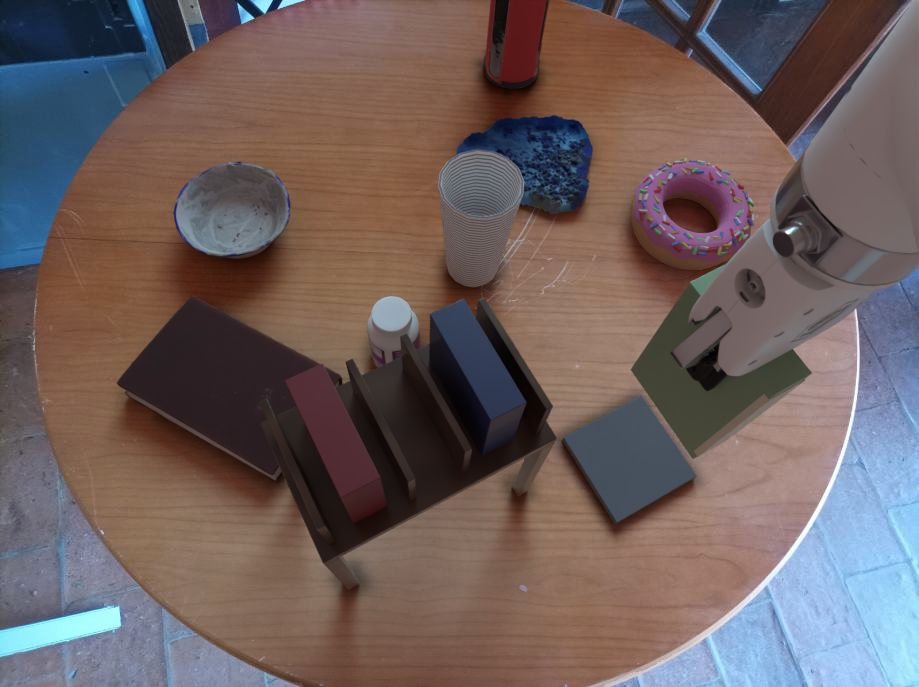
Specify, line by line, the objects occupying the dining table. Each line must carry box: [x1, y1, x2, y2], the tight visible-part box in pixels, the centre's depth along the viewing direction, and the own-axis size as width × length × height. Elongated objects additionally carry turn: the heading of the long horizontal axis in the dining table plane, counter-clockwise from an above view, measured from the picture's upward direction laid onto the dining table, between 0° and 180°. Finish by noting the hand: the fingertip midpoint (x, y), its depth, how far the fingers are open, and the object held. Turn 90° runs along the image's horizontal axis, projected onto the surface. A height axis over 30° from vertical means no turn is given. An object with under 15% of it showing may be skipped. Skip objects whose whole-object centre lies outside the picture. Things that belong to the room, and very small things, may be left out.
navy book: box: [428, 298, 526, 456], centre depth 52 cm, size 9×3×8 cm, turn 28°
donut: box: [630, 157, 755, 271], centre depth 84 cm, size 14×14×5 cm
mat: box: [561, 395, 698, 525], centre depth 73 cm, size 10×10×1 cm
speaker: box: [482, 0, 550, 90], centre depth 88 cm, size 8×8×18 cm
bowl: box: [172, 161, 291, 260], centre depth 81 cm, size 13×13×5 cm
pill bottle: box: [366, 295, 421, 368], centre depth 73 cm, size 5×5×10 cm
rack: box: [259, 297, 558, 591], centre depth 60 cm, size 12×20×24 cm, turn 119°
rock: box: [454, 114, 594, 215], centre depth 88 cm, size 15×17×2 cm
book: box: [116, 295, 344, 484], centre depth 73 cm, size 12×19×3 cm, turn 61°
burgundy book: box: [285, 362, 387, 524], centre depth 50 cm, size 9×3×8 cm, turn 29°
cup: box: [437, 149, 524, 288], centre depth 75 cm, size 8×8×16 cm
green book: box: [630, 264, 813, 460], centre depth 52 cm, size 9×3×15 cm, turn 29°
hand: (718, 360), depth 50 cm, fingers closed on green book, 3 cm apart
